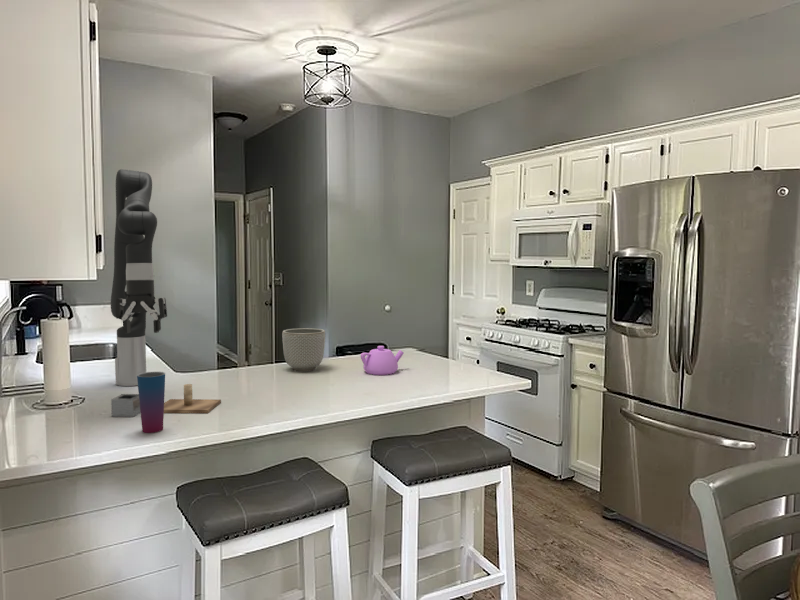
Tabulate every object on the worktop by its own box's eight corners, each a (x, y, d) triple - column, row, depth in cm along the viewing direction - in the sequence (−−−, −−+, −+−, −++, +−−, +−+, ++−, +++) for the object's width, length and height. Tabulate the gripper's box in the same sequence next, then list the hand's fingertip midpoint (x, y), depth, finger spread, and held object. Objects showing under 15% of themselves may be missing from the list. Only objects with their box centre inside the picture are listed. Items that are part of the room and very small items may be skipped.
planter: (273, 370, 226) (273, 330, 225) (306, 364, 240) (306, 326, 238) (301, 376, 215) (300, 334, 214) (334, 369, 228) (334, 330, 227)
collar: (111, 416, 160) (111, 399, 159) (122, 410, 166) (122, 394, 166) (133, 416, 160) (132, 399, 159) (143, 410, 166) (142, 394, 166)
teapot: (412, 372, 224) (412, 346, 223) (369, 378, 213) (369, 350, 212) (393, 366, 236) (393, 341, 235) (352, 371, 224) (352, 345, 224)
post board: (153, 412, 164) (152, 389, 163) (170, 402, 176) (169, 380, 175) (207, 413, 164) (207, 389, 163) (221, 402, 176) (220, 380, 175)
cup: (144, 426, 151) (142, 371, 150) (170, 425, 151) (168, 371, 150) (134, 434, 144) (132, 377, 143) (161, 433, 145) (160, 376, 144)
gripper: (109, 279, 162) (112, 334, 163) (159, 278, 163) (161, 333, 164) (121, 278, 170) (124, 331, 171) (169, 278, 170) (171, 331, 171)
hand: (142, 332), depth 167 cm, fingers open, 8 cm apart
